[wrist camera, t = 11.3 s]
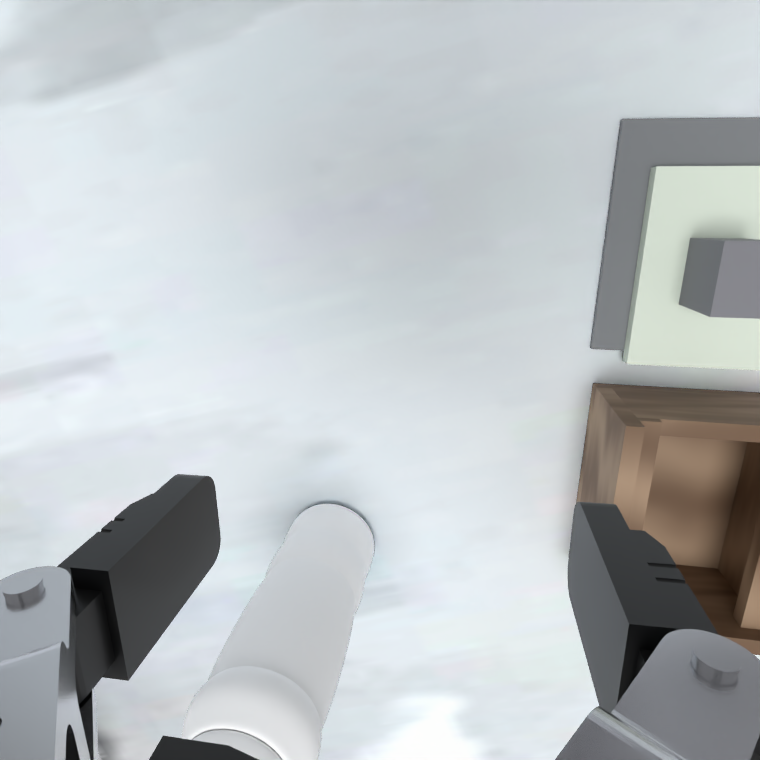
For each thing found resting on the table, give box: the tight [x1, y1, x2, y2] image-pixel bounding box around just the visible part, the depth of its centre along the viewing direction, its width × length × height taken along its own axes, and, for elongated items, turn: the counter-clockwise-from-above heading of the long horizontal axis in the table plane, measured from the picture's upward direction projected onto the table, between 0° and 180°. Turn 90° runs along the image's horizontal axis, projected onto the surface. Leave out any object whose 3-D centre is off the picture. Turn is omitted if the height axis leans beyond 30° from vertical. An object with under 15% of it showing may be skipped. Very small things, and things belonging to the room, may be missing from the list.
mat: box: [590, 118, 760, 350], centre depth 33 cm, size 14×12×1 cm
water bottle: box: [182, 504, 374, 760], centre depth 32 cm, size 7×7×25 cm
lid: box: [623, 166, 760, 371], centre depth 30 cm, size 12×8×6 cm, turn 0°
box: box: [569, 383, 760, 655], centre depth 34 cm, size 14×11×8 cm
